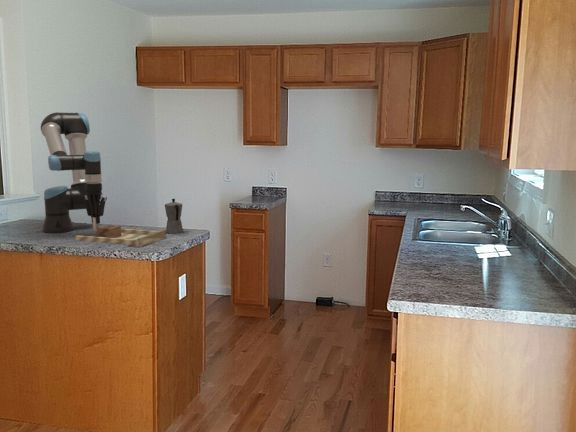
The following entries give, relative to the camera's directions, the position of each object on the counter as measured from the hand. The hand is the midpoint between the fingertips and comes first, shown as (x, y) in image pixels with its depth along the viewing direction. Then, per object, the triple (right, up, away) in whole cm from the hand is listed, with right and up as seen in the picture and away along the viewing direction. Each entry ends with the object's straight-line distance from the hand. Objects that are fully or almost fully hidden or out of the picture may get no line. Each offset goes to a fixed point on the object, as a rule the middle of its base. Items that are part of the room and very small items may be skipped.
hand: (96, 229), depth 265 cm
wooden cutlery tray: (+14, -5, -3) cm, 15 cm away
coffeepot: (+36, -2, +15) cm, 39 cm away
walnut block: (+7, -3, -1) cm, 8 cm away
